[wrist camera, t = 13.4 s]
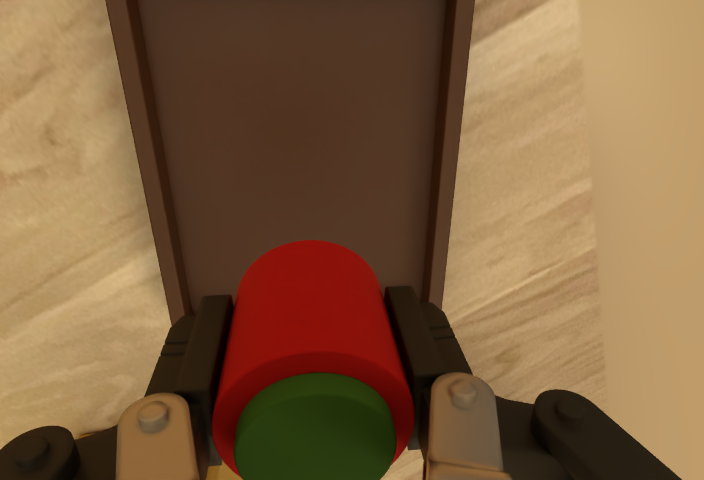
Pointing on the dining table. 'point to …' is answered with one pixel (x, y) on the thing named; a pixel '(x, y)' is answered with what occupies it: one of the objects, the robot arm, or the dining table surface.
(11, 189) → the dining table surface
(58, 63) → the dining table surface
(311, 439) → the green-capped red cylinder
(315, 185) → the tray
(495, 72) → the dining table surface
